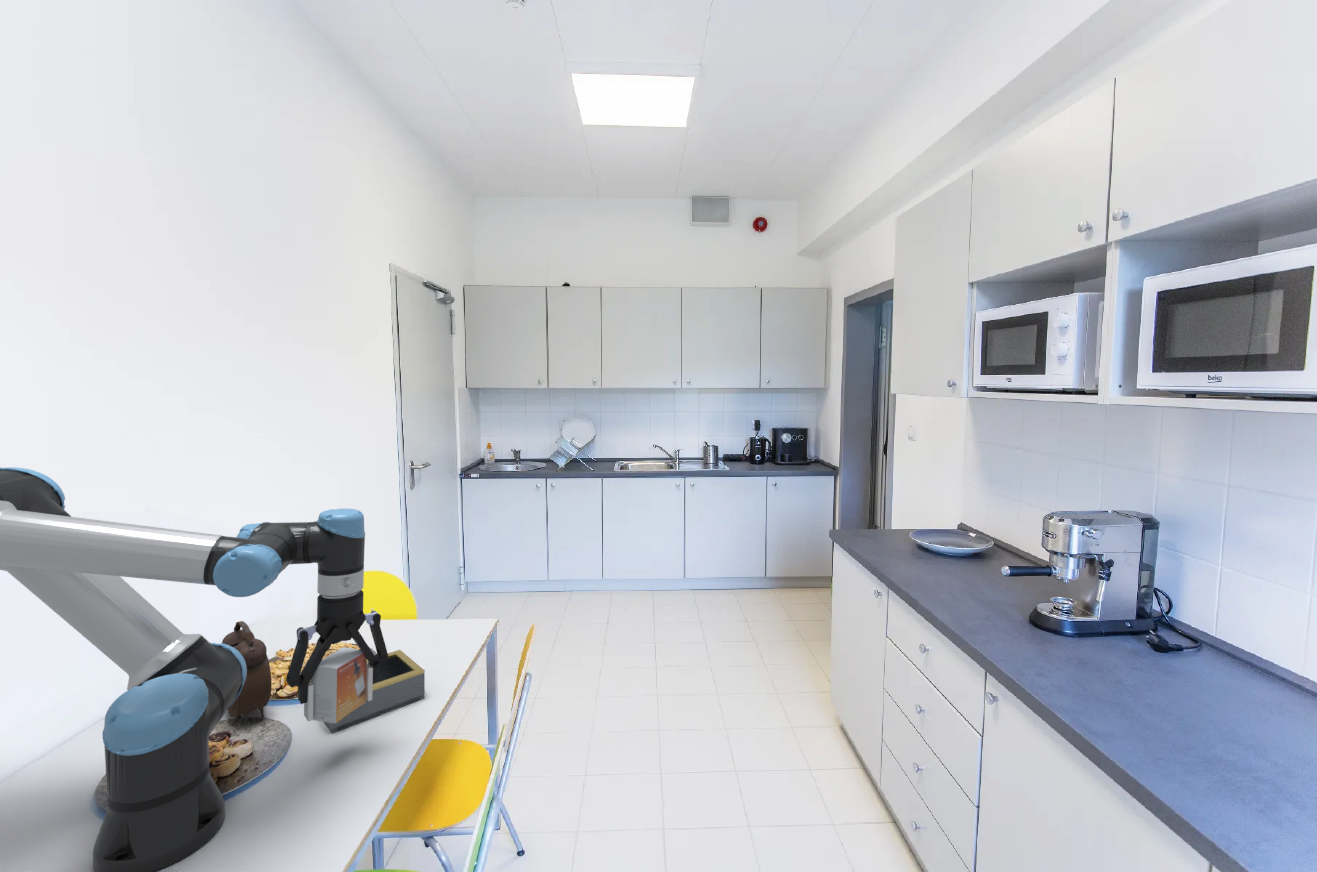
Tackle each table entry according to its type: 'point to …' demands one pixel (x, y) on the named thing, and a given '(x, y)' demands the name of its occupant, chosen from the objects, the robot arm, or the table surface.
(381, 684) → the box
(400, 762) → the table surface
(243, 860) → the table surface
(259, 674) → the alarm clock
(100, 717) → the table surface
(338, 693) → the small box
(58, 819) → the table surface
